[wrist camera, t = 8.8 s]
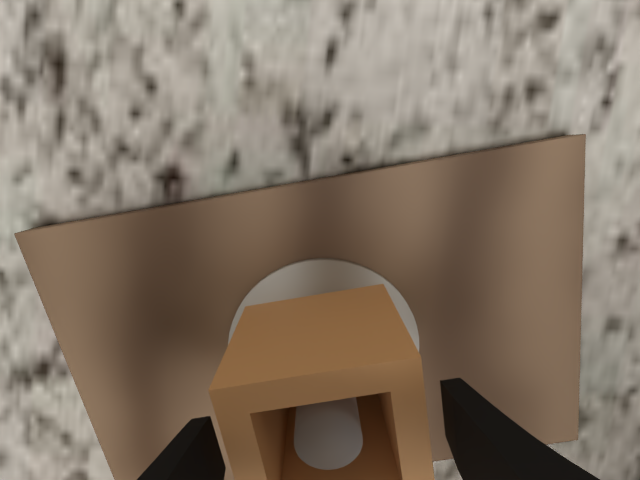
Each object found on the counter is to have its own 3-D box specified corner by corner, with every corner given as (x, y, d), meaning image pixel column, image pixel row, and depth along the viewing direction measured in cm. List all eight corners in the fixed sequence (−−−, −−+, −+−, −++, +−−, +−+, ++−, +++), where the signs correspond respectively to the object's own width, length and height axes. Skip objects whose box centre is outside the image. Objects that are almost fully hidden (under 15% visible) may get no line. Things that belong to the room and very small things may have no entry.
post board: (566, 135, 14) (751, 124, 8) (563, 423, 17) (690, 562, 11) (34, 227, 14) (-157, 280, 9) (136, 487, 18) (50, 650, 12)
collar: (383, 283, 14) (421, 356, 9) (398, 401, 15) (438, 520, 10) (245, 306, 14) (208, 390, 9) (273, 420, 15) (254, 546, 10)
